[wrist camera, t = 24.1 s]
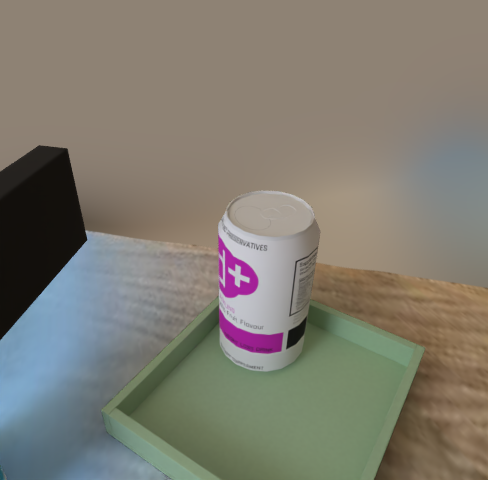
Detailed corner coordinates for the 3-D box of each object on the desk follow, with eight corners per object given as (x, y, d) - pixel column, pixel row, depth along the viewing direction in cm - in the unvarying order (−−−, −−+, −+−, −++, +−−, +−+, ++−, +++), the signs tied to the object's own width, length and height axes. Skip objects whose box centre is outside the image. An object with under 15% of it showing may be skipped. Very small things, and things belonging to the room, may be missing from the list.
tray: (417, 369, 42) (425, 347, 40) (329, 593, 28) (336, 574, 26) (243, 291, 50) (244, 270, 49) (106, 432, 36) (100, 409, 34)
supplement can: (240, 389, 39) (245, 252, 30) (207, 325, 45) (203, 197, 36) (318, 360, 42) (343, 227, 33) (277, 304, 48) (289, 180, 39)
